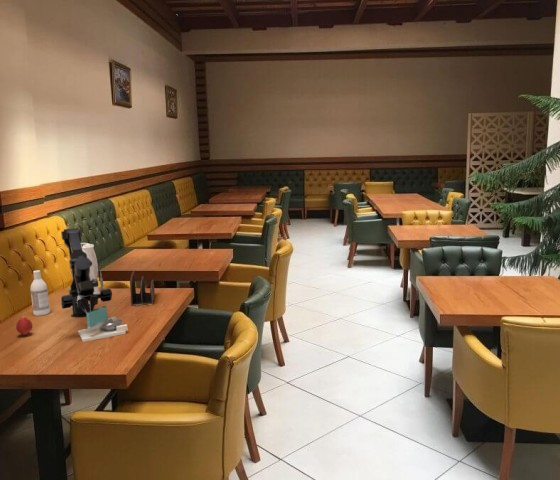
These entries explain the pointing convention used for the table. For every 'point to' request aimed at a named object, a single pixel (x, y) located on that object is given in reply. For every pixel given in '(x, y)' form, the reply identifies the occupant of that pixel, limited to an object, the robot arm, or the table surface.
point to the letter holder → (141, 292)
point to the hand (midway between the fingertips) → (91, 316)
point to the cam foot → (102, 320)
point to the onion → (24, 326)
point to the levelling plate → (101, 333)
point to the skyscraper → (94, 267)
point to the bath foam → (39, 295)
